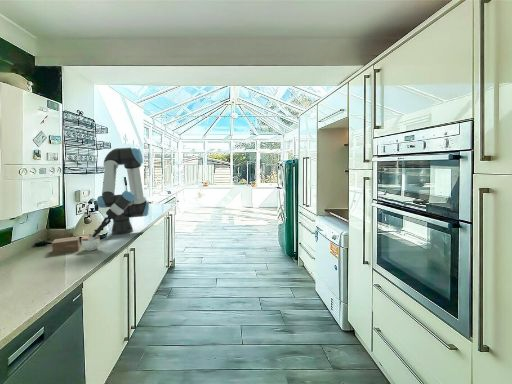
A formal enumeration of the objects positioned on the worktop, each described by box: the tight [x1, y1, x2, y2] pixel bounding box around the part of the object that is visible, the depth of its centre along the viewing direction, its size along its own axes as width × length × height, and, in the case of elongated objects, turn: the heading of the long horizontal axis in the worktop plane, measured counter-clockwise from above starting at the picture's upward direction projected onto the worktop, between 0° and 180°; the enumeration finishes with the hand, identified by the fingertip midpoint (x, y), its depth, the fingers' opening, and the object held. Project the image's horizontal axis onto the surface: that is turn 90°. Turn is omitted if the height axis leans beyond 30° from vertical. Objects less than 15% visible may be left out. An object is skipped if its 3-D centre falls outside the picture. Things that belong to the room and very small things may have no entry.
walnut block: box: [51, 236, 81, 255], centre depth 244 cm, size 14×14×7 cm
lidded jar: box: [80, 234, 101, 252], centre depth 241 cm, size 11×11×9 cm
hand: (91, 238), depth 240 cm, fingers open, 13 cm apart
